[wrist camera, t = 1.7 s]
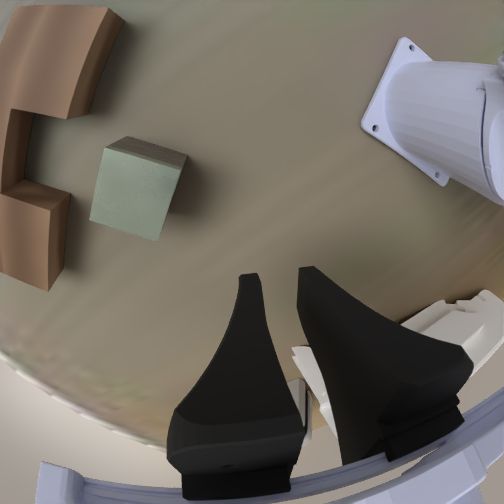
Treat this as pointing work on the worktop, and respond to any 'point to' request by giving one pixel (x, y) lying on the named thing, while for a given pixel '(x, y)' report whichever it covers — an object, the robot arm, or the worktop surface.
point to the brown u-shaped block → (48, 103)
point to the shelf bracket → (436, 326)
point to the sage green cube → (136, 186)
